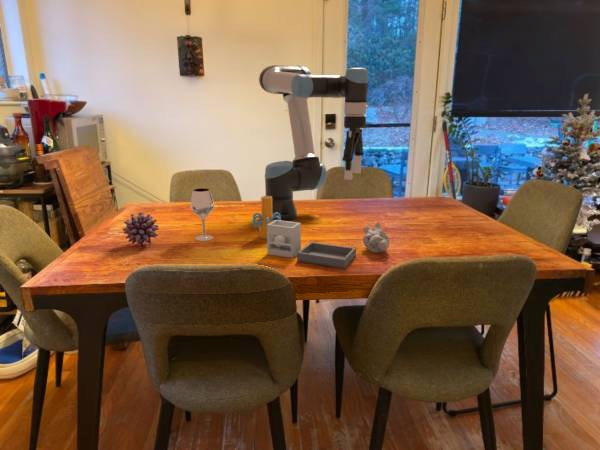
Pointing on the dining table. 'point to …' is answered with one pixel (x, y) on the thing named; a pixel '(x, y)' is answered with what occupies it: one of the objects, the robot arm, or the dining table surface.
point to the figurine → (375, 239)
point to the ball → (279, 240)
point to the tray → (326, 255)
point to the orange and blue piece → (265, 216)
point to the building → (289, 232)
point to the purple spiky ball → (140, 228)
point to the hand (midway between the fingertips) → (352, 176)
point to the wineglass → (202, 208)
